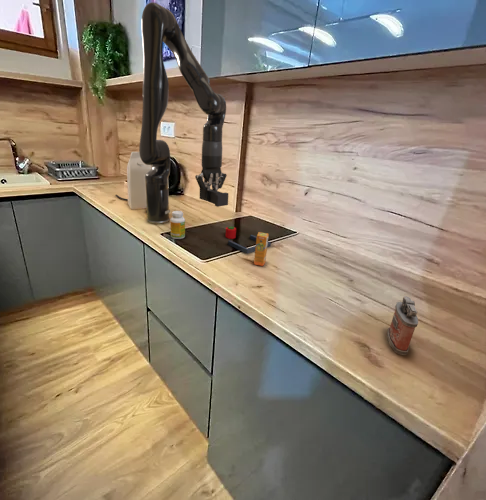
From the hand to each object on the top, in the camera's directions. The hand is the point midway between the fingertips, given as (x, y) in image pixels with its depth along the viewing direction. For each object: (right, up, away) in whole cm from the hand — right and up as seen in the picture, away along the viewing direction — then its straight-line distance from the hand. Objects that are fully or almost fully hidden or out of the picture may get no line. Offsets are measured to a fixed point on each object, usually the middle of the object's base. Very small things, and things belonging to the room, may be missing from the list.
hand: (210, 199), depth 118 cm
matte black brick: (0, -1, 0) cm, 1 cm away
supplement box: (+16, -24, -22) cm, 36 cm away
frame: (+14, -18, -7) cm, 24 cm away
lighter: (+41, -39, -54) cm, 78 cm away
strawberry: (+8, -14, 0) cm, 16 cm away
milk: (-36, +3, +36) cm, 51 cm away
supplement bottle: (-12, -15, -3) cm, 19 cm away
